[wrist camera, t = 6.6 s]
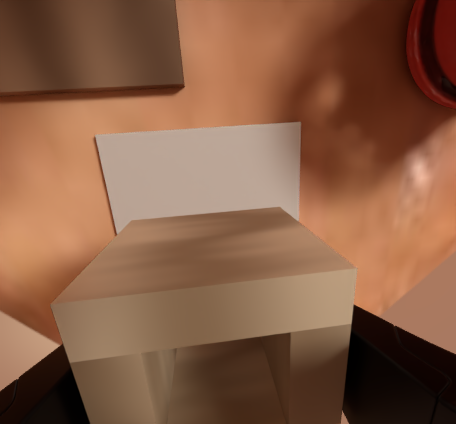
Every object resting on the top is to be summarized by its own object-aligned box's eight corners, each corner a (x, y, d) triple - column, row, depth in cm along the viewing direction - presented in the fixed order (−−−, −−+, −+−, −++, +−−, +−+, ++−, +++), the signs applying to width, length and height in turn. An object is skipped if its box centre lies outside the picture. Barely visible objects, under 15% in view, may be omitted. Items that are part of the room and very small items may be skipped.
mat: (299, 122, 19) (301, 121, 18) (295, 271, 23) (297, 274, 22) (97, 134, 17) (95, 134, 17) (131, 291, 21) (130, 294, 21)
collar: (279, 206, 9) (357, 268, 5) (279, 324, 11) (336, 457, 6) (131, 220, 9) (49, 304, 4) (155, 341, 11) (116, 499, 6)
